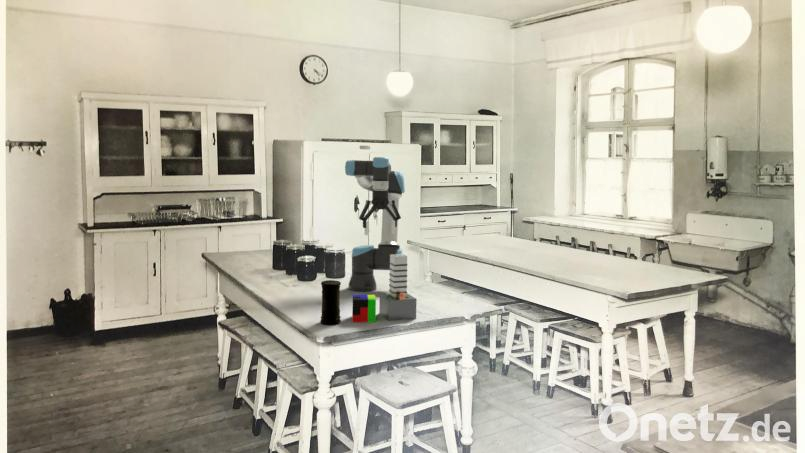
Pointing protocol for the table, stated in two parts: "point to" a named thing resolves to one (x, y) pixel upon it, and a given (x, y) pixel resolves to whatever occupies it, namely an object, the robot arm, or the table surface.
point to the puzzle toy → (364, 308)
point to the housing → (398, 307)
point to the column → (398, 275)
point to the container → (330, 302)
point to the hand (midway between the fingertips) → (379, 234)
